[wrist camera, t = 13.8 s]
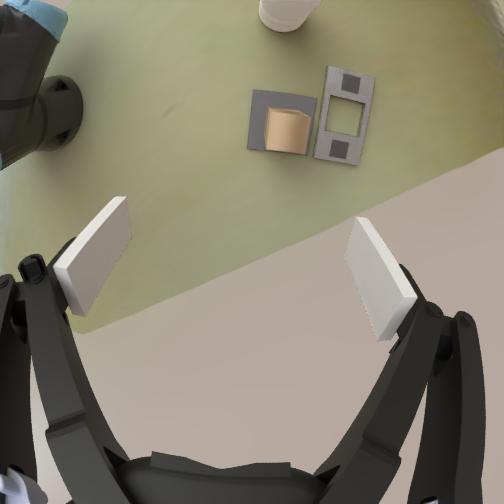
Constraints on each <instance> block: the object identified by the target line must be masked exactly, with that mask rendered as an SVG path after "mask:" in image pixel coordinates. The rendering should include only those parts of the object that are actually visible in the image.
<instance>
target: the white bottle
mask: <svg viewBox="0 0 504 504" xmlns="http://www.w3.org/2000/svg"><path fill="white" fill-rule="evenodd" d="M321 1H322V0H260V7H259V16H260V19H261V21H262V22H263V23H264V24H265V25H266V26H267V27H268V28H270V29H272V30H275V31H278V32H289V31H293V30H295V29H297V28H299V27H300V26H301V25H302V24H303V23H304V21H305V20H306V19H307V18H308V16H309V15H310V13H311V12H312V11H313V10H314V9H315V8H316V7H317V6H318V5H319V4H320V2H321Z"/></svg>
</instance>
